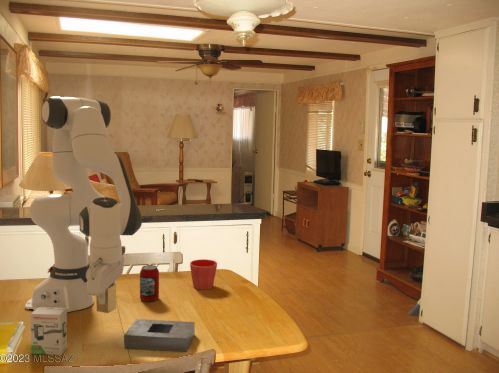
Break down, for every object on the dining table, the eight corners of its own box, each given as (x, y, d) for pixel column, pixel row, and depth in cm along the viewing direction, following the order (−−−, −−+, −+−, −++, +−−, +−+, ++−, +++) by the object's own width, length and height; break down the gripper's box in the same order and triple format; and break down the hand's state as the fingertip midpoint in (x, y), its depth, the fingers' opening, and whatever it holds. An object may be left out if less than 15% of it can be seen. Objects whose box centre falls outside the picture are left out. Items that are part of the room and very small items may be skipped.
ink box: (30, 354, 139) (28, 313, 138) (37, 346, 144) (36, 306, 143) (61, 355, 139) (60, 313, 138) (68, 347, 144) (67, 307, 143)
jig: (124, 348, 144) (124, 335, 144) (136, 331, 156) (136, 319, 156) (186, 352, 143) (186, 338, 142) (194, 334, 155) (194, 322, 154)
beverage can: (136, 300, 183) (136, 268, 182) (146, 294, 190) (146, 263, 188) (152, 303, 181) (152, 270, 179) (162, 297, 187) (162, 265, 186)
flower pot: (222, 286, 201) (223, 262, 200) (202, 293, 193) (203, 268, 192) (204, 280, 208) (204, 257, 207) (184, 286, 200) (184, 262, 199)
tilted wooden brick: (96, 311, 149) (96, 286, 148) (104, 306, 153) (104, 282, 152) (108, 313, 148) (107, 288, 147) (116, 308, 151) (116, 284, 150)
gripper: (103, 265, 137) (103, 313, 139) (127, 245, 157) (127, 288, 159) (80, 263, 138) (81, 312, 140) (107, 244, 158) (108, 287, 160)
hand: (106, 299), depth 150 cm, fingers closed on tilted wooden brick, 5 cm apart
